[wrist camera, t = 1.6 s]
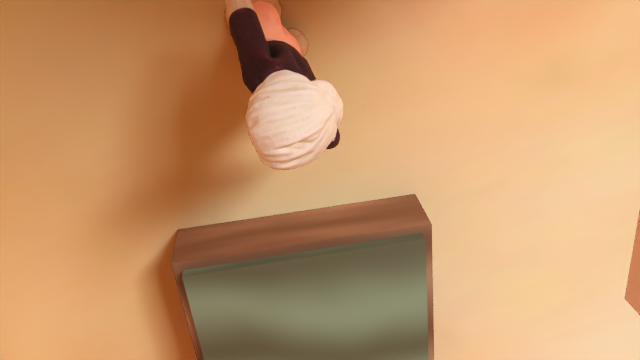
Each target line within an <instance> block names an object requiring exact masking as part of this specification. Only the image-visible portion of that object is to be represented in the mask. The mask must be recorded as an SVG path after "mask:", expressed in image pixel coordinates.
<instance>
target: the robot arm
mask: <svg viewBox="0 0 640 360" xmlns="http://www.w3.org/2000/svg"><path fill="white" fill-rule="evenodd" d="M625 299H626V301H627V302H628V303H629V304H630V305H631V306H632V307H633V308H634V309H635V310H636V312H637V313H638V314H639V315H640V211H639V217H638V223H637V229H636V235H635V241H634V247H633V252H632V258H631V264H630V270H629V276H628V282H627V287H626V293H625Z"/></svg>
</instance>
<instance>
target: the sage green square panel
mask: <svg viewBox="0 0 640 360" xmlns="http://www.w3.org/2000/svg"><path fill="white" fill-rule="evenodd" d="M172 268H173V272H174V275H175V279H176V283H177V286H178V290H179V293H180V297H181V301H182V304H183V308H184V312H185V315H186V319H187V323H188V326H189V330H190V334H191V337H192V341H193V345H194V348H195V352H196V355H197V359H198V360H434V330H433V277H432V224H431V222H430V220H429V219H428V217H427V215H426V213H425V211H424V209H423V208H422V206H421V204H420V202H419V200H418V198H417V197H416V195H415V194H413V195H406V196H399V197H393V198H386V199H379V200H373V201H366V202H360V203H353V204H346V205H340V206H333V207H326V208H320V209H313V210H306V211H300V212H293V213H286V214H280V215H273V216H267V217H260V218H253V219H247V220H240V221H233V222H227V223H220V224H213V225H207V226H200V227H193V228H187V229H180V230H178V232H177V237H176V242H175V248H174V253H173V258H172Z"/></svg>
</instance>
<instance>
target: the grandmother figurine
mask: <svg viewBox="0 0 640 360" xmlns="http://www.w3.org/2000/svg"><path fill="white" fill-rule="evenodd" d="M224 1H225V4H226V7H227V8H226V12H225V18H226V22H227V24H228V26H229V28H230V32H231V35H232V38H233V40H234V42H235V44H236V46H237V50H238V55H239V60H240V63H241V69H242V76H243V81H244V83H245V85H246V86H247V88H248V89H249V90H250V91H251V92H252V96H251V97H250V99H249V103H248V106H247V112H246V116H245V120H246V124H247V128H248V133H249V136H250V139H251V141H252V144H253V145H254V147H255V149H256V151H257V153H258V155H259V157H260V159H261V160H262V162H263V163H264V164H265V165H267V166H269V167H270V168H273V169H277V170H290V169H294V168H297V167H301V166H304V165H306V164H308V163H310V162H312V161H313V160H315V159H316V158H318V157H319V156H320V155H321V154H322V153H323V152H324V150H325V149H331V148H334V147H336V146H337V145H338V143H339V140H340V134H339V130H338V128H337V127H338V126H339V124H340V122H341V120H342V117H343V102H342V100H341V99H340V97H339V96H338V94H337V91H336V90H335V88H334V87H333V86H332V85H331V84H330V83H329V82H327V81H325V80H316V78H315V76H314V74H313V72H312V71H311V68H310V66H309V64H308V62H307V60H306V59H305V58H303V56H304V55H305V53H306V52H307V49H308V43H307V40H306V38H305V37H304V36H303V34H302V33H301V32H300V31H298V30H296V29H286V28H285V27H284V26H282V25H281V20H280V17H281V7H280V4H279V1H278V0H224Z"/></svg>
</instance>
